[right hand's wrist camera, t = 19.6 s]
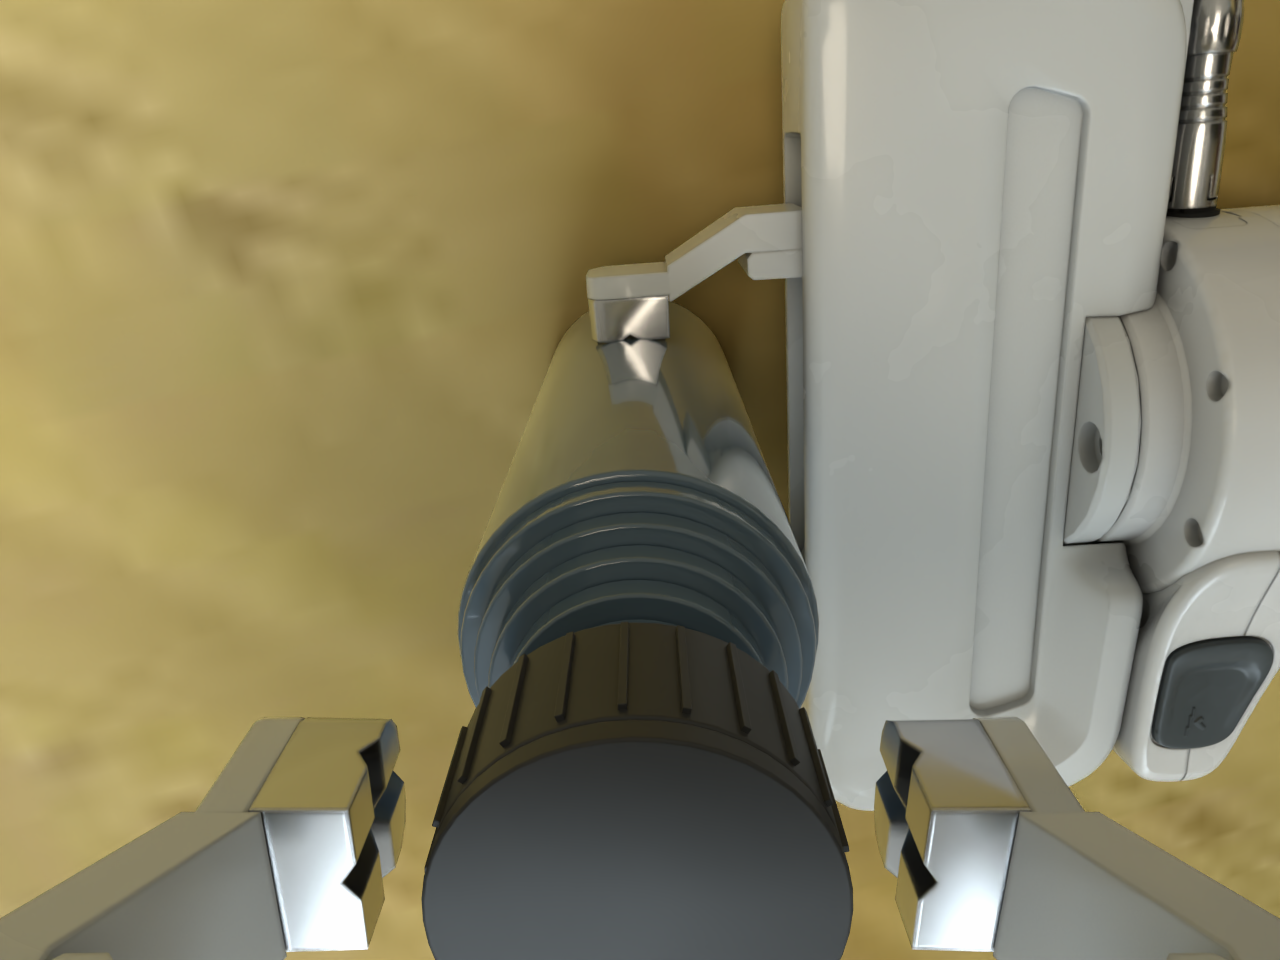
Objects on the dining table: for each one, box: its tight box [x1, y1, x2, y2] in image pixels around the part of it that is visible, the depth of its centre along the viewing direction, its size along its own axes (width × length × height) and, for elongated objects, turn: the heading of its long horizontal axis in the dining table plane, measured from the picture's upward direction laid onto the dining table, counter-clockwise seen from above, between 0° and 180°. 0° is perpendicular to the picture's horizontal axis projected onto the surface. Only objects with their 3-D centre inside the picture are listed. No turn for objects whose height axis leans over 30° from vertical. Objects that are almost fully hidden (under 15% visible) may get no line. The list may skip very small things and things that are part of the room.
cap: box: [422, 622, 853, 960], centre depth 9 cm, size 4×4×2 cm
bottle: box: [458, 301, 819, 709], centre depth 18 cm, size 5×5×19 cm
